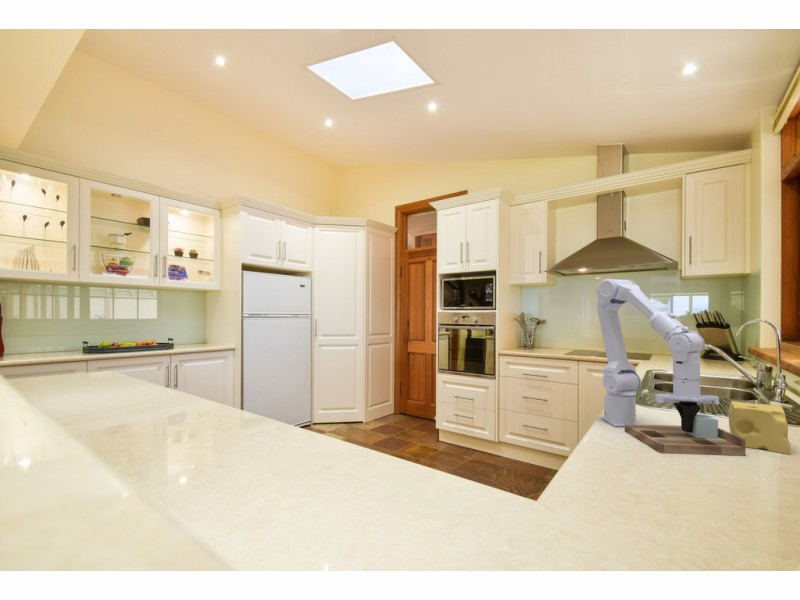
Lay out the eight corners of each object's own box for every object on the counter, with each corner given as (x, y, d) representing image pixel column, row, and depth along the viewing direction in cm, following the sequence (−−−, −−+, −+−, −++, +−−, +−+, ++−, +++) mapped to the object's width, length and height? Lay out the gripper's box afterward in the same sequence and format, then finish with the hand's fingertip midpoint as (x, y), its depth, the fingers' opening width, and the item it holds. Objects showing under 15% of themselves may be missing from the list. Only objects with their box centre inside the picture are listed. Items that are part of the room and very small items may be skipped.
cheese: (790, 455, 93) (789, 413, 94) (731, 445, 100) (730, 406, 100) (782, 443, 102) (781, 405, 102) (728, 435, 108) (728, 399, 108)
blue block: (683, 431, 104) (684, 412, 104) (704, 433, 103) (705, 414, 103) (695, 437, 99) (696, 417, 99) (717, 439, 98) (718, 419, 98)
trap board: (624, 431, 111) (624, 417, 111) (696, 433, 110) (696, 419, 110) (659, 452, 94) (659, 436, 94) (745, 455, 93) (745, 438, 93)
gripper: (666, 380, 98) (667, 435, 98) (727, 381, 97) (728, 437, 97) (650, 376, 105) (651, 426, 105) (707, 377, 104) (708, 428, 104)
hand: (687, 431), depth 101 cm, fingers closed, pressing on blue block
